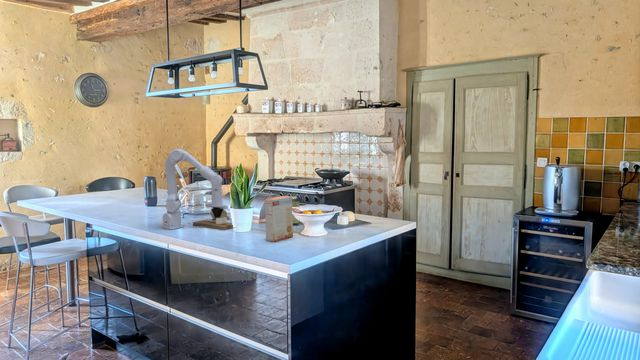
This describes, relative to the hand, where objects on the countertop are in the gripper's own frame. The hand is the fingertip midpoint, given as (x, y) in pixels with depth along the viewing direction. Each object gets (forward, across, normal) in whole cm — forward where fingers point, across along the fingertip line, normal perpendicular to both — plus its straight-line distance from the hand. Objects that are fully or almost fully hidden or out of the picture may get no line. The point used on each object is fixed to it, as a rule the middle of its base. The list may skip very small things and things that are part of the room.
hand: (217, 220), depth 257 cm
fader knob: (+1, -3, 0) cm, 3 cm away
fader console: (+3, +2, 0) cm, 4 cm away
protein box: (+4, -28, -27) cm, 39 cm away
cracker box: (+4, -48, +5) cm, 48 cm away
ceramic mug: (+4, +15, -18) cm, 23 cm away
